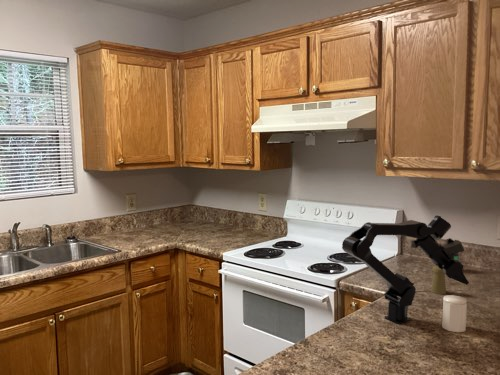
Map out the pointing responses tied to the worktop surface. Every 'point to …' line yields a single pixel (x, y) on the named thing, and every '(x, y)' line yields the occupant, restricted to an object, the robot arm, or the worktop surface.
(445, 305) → the tumbler
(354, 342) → the worktop surface
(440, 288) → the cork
